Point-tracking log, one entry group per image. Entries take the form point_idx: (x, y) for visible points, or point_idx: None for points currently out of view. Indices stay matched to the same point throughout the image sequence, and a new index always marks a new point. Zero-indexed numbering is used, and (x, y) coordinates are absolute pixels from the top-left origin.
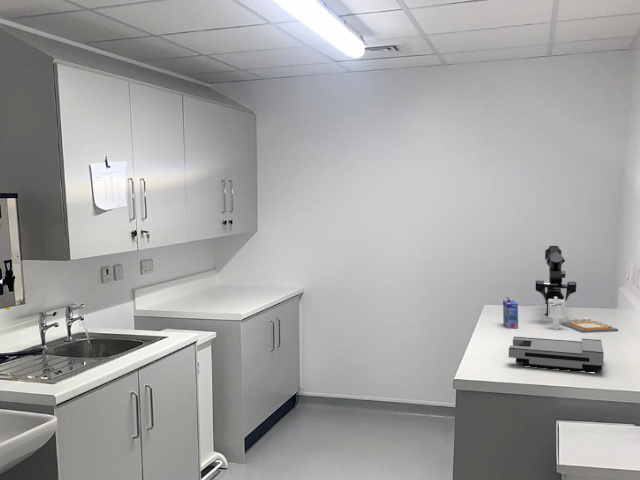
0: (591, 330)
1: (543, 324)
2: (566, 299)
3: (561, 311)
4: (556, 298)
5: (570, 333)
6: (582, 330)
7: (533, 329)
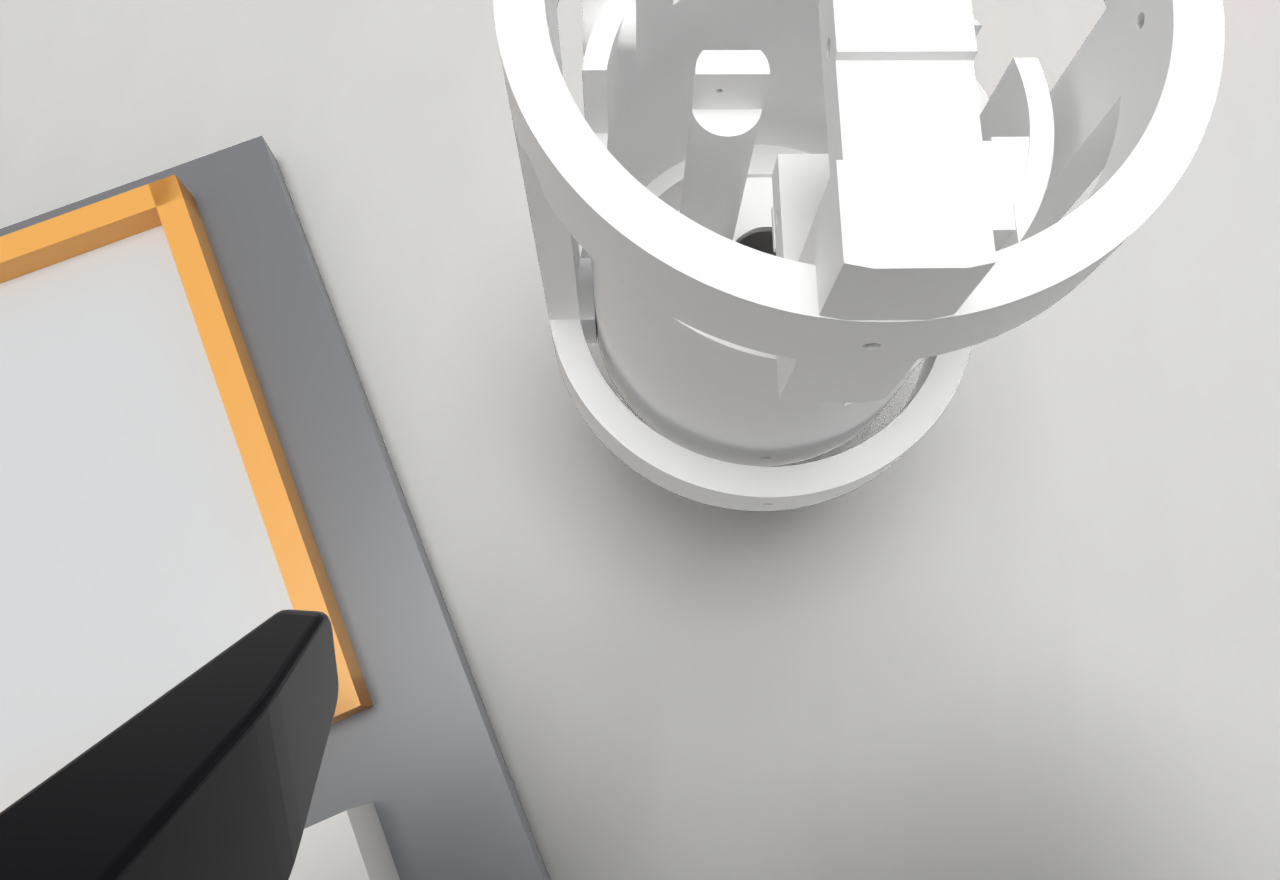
0: (64, 212)
1: (972, 811)
2: (277, 618)
3: (628, 124)
4: (863, 1)
5: (498, 64)
6: (250, 142)
7: (1154, 247)
